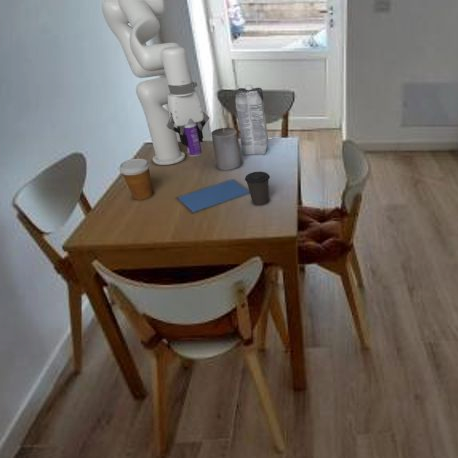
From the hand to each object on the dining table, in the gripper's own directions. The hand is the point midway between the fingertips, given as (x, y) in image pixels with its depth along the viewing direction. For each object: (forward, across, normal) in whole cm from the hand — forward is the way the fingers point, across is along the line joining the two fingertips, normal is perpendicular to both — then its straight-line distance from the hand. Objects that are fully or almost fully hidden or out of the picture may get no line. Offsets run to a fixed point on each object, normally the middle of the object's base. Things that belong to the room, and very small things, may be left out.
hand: (192, 142), depth 147 cm
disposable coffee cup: (+17, +19, -7) cm, 26 cm away
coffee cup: (+17, -10, +24) cm, 31 cm away
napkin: (+16, 0, +10) cm, 19 cm away
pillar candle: (+17, -16, -10) cm, 25 cm away
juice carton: (+17, -31, -15) cm, 38 cm away
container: (+4, 0, 0) cm, 4 cm away
